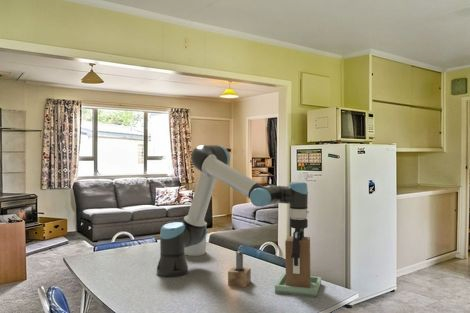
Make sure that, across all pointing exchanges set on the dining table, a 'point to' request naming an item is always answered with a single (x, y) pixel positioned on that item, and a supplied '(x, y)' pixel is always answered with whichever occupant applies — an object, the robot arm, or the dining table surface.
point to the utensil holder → (196, 249)
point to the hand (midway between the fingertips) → (298, 269)
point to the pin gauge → (239, 260)
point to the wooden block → (304, 255)
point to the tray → (301, 291)
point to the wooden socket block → (239, 277)
